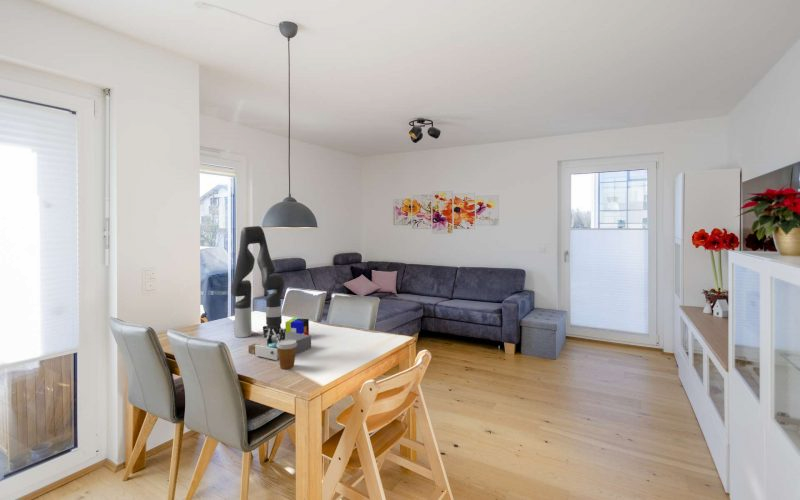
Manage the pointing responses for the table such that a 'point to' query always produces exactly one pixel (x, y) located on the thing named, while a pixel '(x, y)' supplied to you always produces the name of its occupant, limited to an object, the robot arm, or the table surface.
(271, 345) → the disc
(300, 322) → the puzzle toy
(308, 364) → the table surface
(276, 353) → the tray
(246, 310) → the robot arm
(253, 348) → the walnut block
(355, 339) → the table surface
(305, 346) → the block
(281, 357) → the disposable coffee cup
